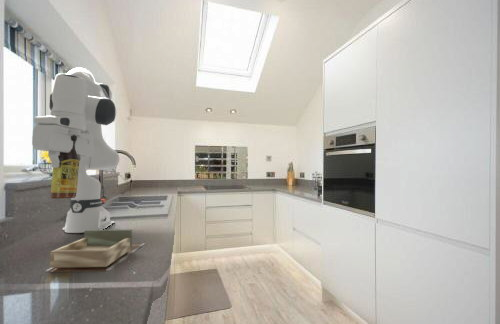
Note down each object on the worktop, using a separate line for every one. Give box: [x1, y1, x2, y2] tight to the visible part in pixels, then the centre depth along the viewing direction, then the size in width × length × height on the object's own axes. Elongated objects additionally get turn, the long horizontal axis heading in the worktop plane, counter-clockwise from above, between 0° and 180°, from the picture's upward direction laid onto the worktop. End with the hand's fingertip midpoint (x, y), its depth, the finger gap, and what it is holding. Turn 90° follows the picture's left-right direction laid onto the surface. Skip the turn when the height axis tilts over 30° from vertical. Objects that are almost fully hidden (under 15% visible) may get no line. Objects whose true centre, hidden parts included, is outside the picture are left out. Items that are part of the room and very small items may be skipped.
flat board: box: [44, 242, 146, 273], centre depth 69 cm, size 23×16×1 cm
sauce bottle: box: [50, 135, 79, 200], centre depth 70 cm, size 7×6×20 cm
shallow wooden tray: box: [48, 229, 133, 269], centre depth 65 cm, size 14×14×7 cm
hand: (66, 168), depth 70 cm, fingers closed on sauce bottle, 6 cm apart
